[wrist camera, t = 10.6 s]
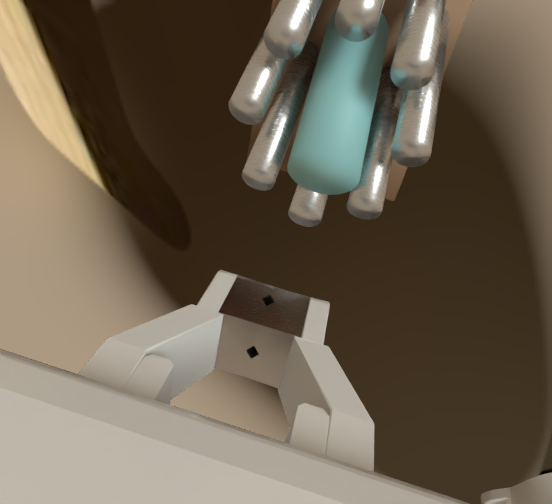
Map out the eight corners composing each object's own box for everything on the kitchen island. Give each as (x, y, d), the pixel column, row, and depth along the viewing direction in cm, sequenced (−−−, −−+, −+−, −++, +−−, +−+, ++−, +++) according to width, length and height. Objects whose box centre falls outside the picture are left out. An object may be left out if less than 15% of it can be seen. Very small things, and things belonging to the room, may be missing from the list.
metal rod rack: (318, -145, 21) (272, -264, 12) (492, -109, 20) (584, -207, 11) (264, 147, 29) (213, 208, 20) (386, 180, 28) (389, 258, 19)
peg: (397, 10, 20) (368, 161, 16) (378, 64, 23) (350, 200, 19) (333, -4, 20) (290, 142, 16) (322, 51, 23) (284, 184, 19)
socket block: (310, -150, 21) (300, -172, 18) (504, -110, 20) (522, -127, 18) (257, 148, 30) (246, 160, 27) (392, 184, 29) (394, 201, 26)
